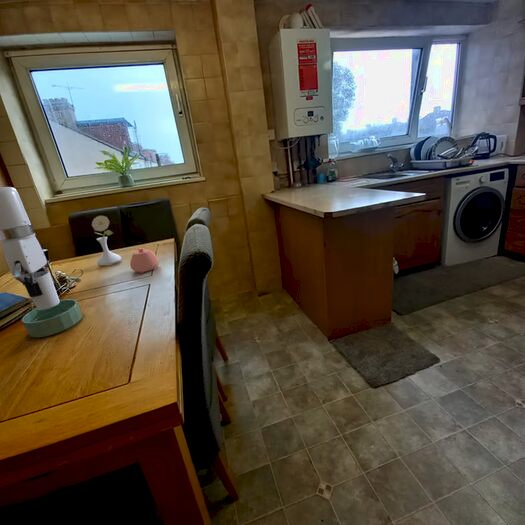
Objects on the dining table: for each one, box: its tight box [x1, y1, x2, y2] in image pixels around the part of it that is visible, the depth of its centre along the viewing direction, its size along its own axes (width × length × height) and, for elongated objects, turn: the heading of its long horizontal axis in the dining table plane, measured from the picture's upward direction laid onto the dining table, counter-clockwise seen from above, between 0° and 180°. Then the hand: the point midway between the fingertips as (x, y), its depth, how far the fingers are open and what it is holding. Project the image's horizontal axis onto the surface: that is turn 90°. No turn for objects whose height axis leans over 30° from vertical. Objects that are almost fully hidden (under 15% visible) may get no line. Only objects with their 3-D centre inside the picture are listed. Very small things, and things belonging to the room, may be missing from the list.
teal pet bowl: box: [21, 298, 83, 338], centre depth 87 cm, size 14×14×6 cm
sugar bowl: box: [129, 247, 160, 274], centre depth 127 cm, size 12×14×10 cm
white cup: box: [26, 270, 60, 310], centre depth 83 cm, size 7×7×10 cm
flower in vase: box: [91, 215, 122, 267], centre depth 140 cm, size 13×11×25 cm
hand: (42, 290), depth 83 cm, fingers closed on white cup, 5 cm apart
